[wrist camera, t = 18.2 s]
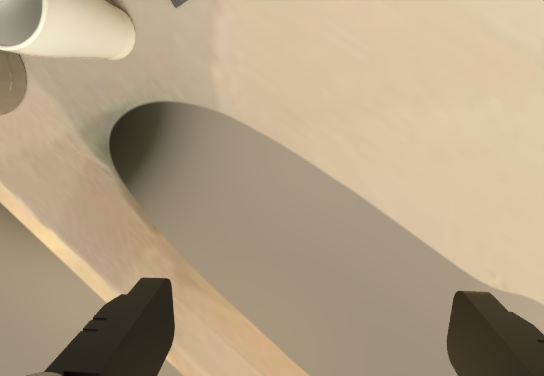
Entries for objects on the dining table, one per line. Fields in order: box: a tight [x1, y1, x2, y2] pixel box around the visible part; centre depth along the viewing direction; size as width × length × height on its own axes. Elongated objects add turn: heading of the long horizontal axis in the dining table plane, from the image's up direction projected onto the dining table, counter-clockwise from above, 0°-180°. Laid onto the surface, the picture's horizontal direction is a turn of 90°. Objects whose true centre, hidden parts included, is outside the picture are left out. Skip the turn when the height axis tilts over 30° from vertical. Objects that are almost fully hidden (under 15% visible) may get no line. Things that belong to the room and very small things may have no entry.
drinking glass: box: [0, 0, 136, 60], centre depth 30 cm, size 7×7×15 cm
